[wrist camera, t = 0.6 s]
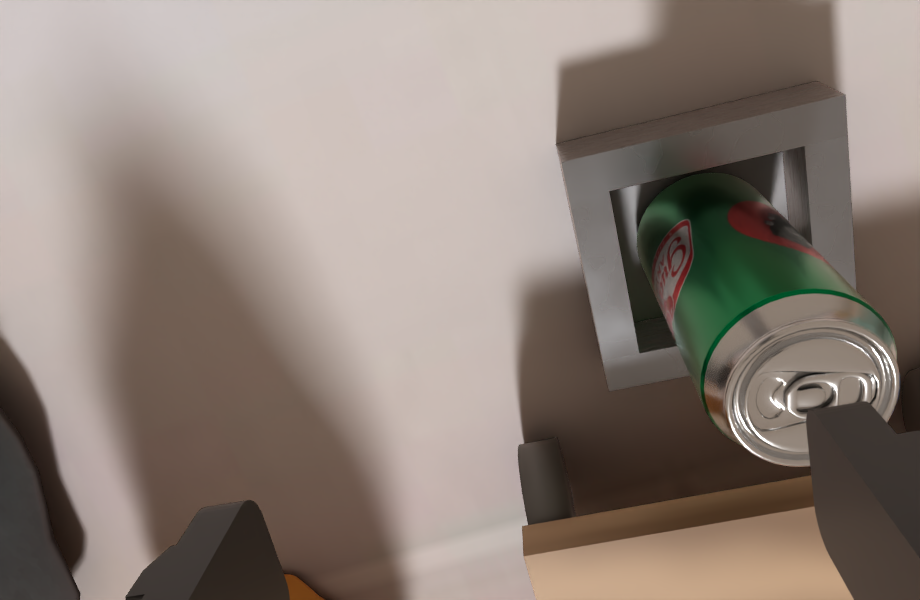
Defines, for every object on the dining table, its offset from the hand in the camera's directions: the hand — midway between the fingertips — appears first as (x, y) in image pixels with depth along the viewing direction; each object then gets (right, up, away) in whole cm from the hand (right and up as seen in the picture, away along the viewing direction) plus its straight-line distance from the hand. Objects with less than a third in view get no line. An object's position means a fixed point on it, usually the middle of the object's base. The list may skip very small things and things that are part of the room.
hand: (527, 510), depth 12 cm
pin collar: (+8, +6, +19) cm, 22 cm away
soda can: (+8, +6, +20) cm, 22 cm away
